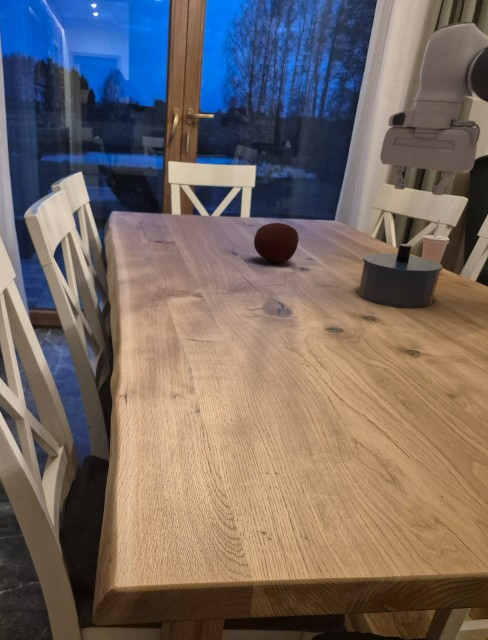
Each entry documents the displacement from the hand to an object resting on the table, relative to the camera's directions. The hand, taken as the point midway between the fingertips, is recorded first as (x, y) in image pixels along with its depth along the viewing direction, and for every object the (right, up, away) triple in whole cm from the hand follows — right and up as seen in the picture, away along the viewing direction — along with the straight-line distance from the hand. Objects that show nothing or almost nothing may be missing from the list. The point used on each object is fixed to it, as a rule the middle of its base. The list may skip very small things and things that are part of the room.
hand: (417, 191), depth 121 cm
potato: (-25, -7, +35) cm, 43 cm away
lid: (-2, -14, +5) cm, 15 cm away
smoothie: (+14, -11, +30) cm, 35 cm away
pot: (-2, -21, +8) cm, 22 cm away
